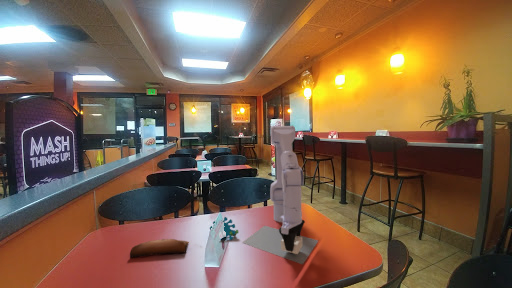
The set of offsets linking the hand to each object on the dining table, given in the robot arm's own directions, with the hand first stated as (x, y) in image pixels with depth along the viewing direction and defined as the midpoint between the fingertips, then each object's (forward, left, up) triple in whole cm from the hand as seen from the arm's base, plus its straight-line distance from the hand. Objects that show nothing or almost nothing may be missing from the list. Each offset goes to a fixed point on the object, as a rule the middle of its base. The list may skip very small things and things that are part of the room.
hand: (292, 245), depth 68 cm
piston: (0, 0, -3) cm, 3 cm away
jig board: (-4, -7, -3) cm, 8 cm away
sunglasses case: (+21, -40, -4) cm, 46 cm away
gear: (+4, -26, -4) cm, 27 cm away
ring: (0, 0, -1) cm, 1 cm away
